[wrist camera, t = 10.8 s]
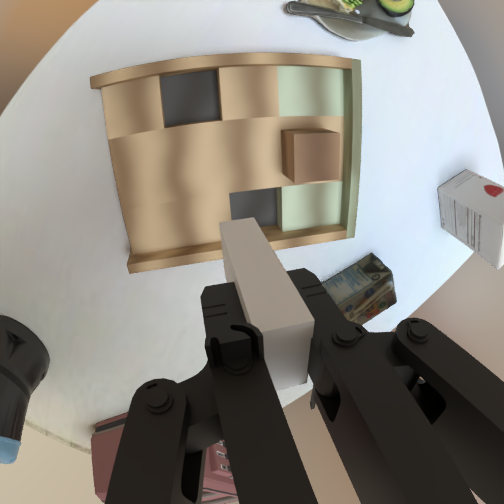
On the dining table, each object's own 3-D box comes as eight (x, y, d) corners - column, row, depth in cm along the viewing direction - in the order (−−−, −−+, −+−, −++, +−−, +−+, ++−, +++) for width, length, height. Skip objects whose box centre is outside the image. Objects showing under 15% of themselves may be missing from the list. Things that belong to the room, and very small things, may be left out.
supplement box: (466, 167, 40) (530, 199, 28) (469, 208, 45) (525, 244, 32) (436, 186, 41) (503, 225, 28) (440, 229, 45) (498, 272, 33)
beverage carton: (380, 283, 48) (401, 306, 43) (286, 339, 49) (298, 367, 44) (372, 250, 44) (395, 272, 38) (266, 311, 45) (278, 341, 40)
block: (282, 173, 32) (294, 183, 29) (280, 129, 30) (293, 134, 26) (322, 170, 33) (338, 179, 29) (323, 128, 30) (340, 133, 27)
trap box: (134, 254, 35) (129, 273, 32) (101, 79, 25) (89, 77, 21) (338, 223, 40) (354, 237, 36) (341, 62, 29) (360, 59, 25)
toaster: (252, 414, 60) (274, 492, 43) (144, 451, 62) (149, 516, 45) (204, 379, 50) (222, 480, 33) (90, 423, 52) (86, 499, 35)
